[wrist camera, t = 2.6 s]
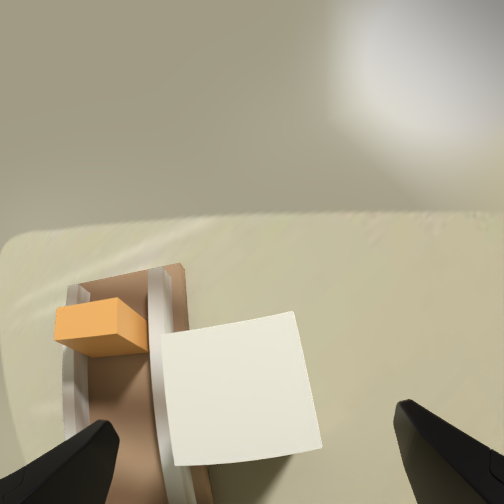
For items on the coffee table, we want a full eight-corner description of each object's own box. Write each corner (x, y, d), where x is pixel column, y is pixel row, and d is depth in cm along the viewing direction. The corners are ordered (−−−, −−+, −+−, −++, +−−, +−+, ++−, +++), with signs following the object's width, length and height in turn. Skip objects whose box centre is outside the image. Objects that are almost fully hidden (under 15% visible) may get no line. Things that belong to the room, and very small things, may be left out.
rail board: (225, 555, 11) (215, 572, 9) (100, 541, 11) (79, 549, 9) (184, 269, 21) (172, 250, 19) (81, 290, 22) (62, 275, 19)
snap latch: (149, 352, 17) (116, 333, 14) (91, 357, 17) (54, 340, 14) (148, 321, 18) (117, 297, 15) (92, 329, 18) (56, 307, 15)
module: (306, 431, 15) (322, 447, 7) (236, 442, 15) (174, 465, 7) (293, 367, 17) (293, 310, 9) (226, 379, 17) (160, 334, 9)
